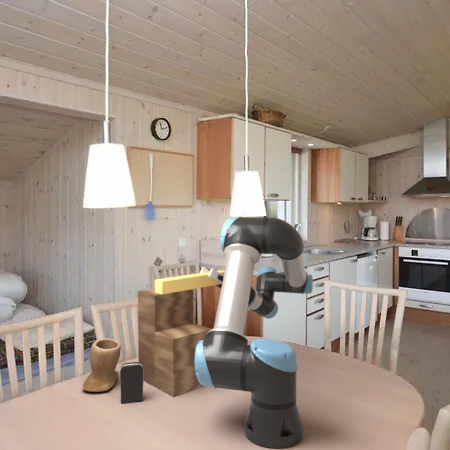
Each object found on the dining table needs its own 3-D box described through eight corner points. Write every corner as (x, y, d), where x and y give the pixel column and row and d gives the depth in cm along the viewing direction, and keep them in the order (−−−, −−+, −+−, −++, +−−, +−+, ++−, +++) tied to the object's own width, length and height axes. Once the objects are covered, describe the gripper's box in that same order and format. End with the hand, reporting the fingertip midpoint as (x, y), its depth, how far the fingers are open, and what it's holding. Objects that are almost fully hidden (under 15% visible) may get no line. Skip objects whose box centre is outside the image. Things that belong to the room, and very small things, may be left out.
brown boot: (116, 395, 136) (115, 347, 135) (77, 394, 136) (77, 347, 135) (127, 375, 151) (126, 333, 150) (93, 375, 151) (92, 333, 150)
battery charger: (143, 396, 135) (142, 359, 134) (143, 401, 131) (143, 364, 130) (120, 398, 133) (119, 361, 133) (120, 404, 129) (119, 366, 129)
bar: (221, 281, 156) (221, 270, 155) (228, 282, 153) (228, 271, 152) (154, 292, 137) (154, 279, 136) (162, 294, 134) (162, 281, 134)
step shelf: (176, 366, 160) (176, 285, 158) (212, 382, 145) (212, 293, 143) (138, 378, 149) (137, 291, 147) (173, 397, 134) (172, 300, 133)
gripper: (261, 310, 155) (218, 285, 141) (228, 302, 167) (186, 278, 153) (268, 290, 157) (227, 264, 143) (235, 284, 170) (194, 259, 155)
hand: (206, 271), depth 148 cm, fingers closed on bar, 4 cm apart
